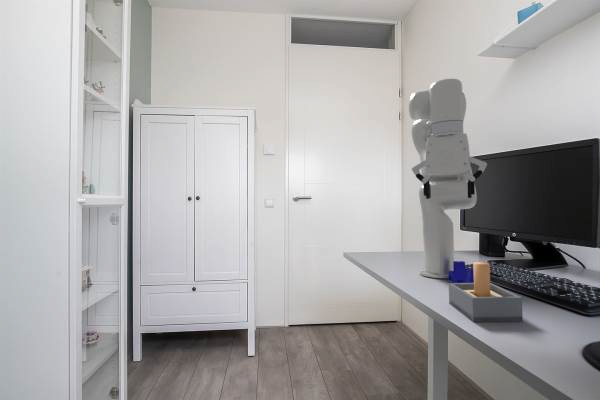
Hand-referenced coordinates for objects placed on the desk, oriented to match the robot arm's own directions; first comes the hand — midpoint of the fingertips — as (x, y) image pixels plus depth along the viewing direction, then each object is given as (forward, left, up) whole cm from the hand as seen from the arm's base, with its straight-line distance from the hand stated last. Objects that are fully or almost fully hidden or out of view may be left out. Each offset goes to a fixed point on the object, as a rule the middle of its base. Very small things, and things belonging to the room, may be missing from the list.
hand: (448, 198), depth 81 cm
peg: (+6, +7, -25) cm, 27 cm away
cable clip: (-18, +1, -27) cm, 32 cm away
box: (+6, +7, -26) cm, 28 cm away
